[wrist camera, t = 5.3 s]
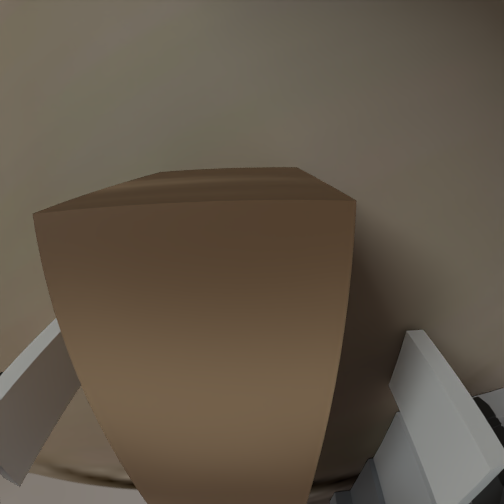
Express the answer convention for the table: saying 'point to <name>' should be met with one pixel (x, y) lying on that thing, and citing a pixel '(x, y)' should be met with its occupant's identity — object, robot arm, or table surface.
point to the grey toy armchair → (401, 467)
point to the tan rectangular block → (206, 325)
